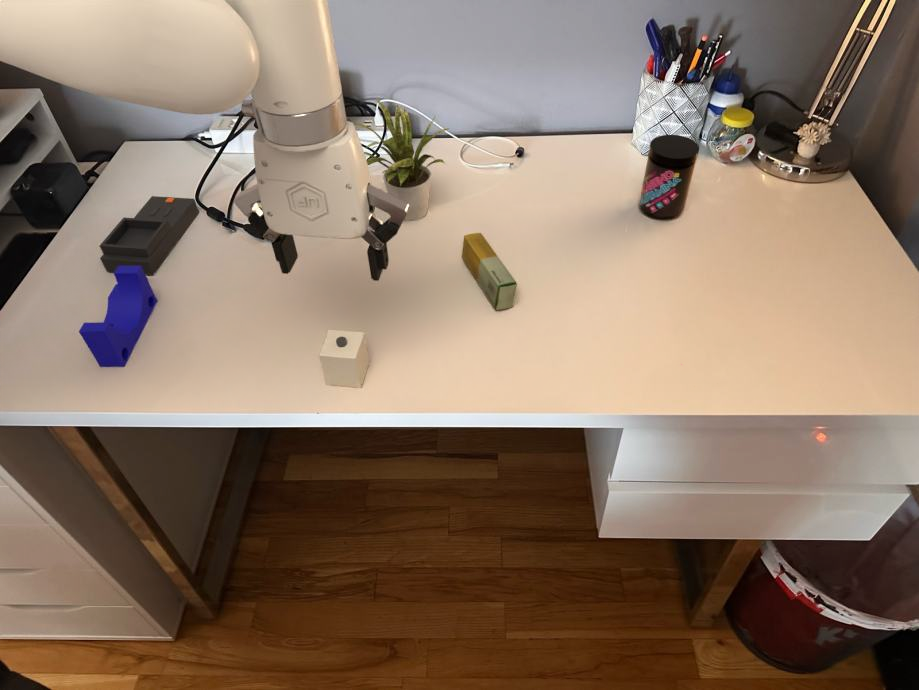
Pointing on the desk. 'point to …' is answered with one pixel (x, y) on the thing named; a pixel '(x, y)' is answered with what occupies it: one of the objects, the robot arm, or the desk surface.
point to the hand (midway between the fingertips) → (334, 268)
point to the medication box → (489, 271)
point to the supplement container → (668, 176)
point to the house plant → (405, 164)
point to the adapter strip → (148, 234)
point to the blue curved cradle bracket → (121, 318)
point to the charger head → (344, 358)
